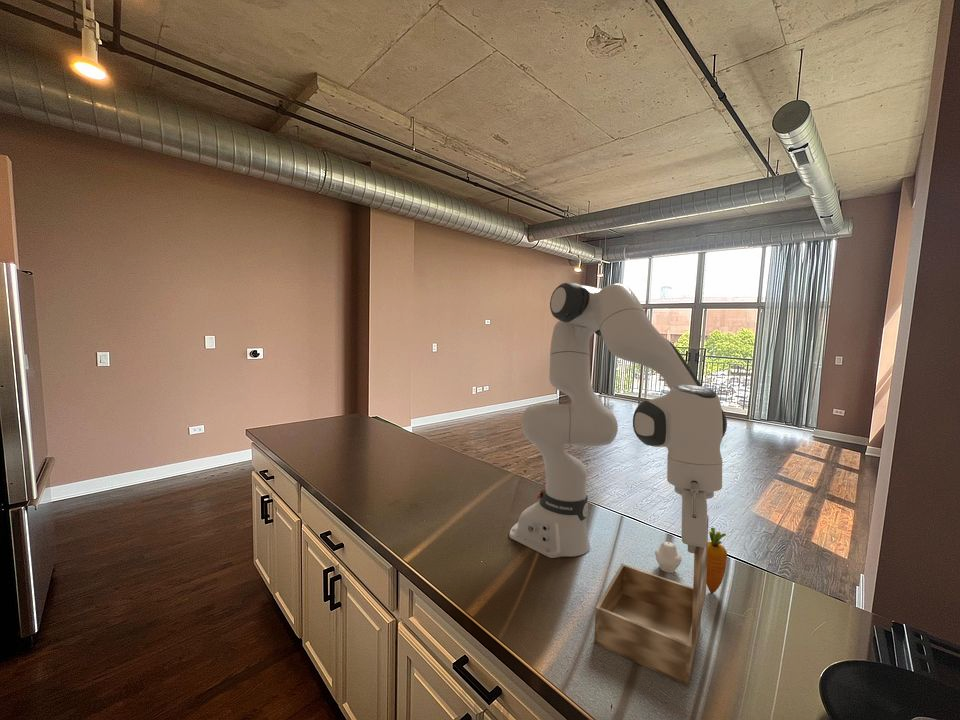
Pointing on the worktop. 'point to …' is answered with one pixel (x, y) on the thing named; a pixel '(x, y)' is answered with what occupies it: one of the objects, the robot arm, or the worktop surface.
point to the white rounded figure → (668, 557)
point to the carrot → (715, 561)
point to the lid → (699, 587)
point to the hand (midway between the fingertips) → (693, 550)
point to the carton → (648, 622)
